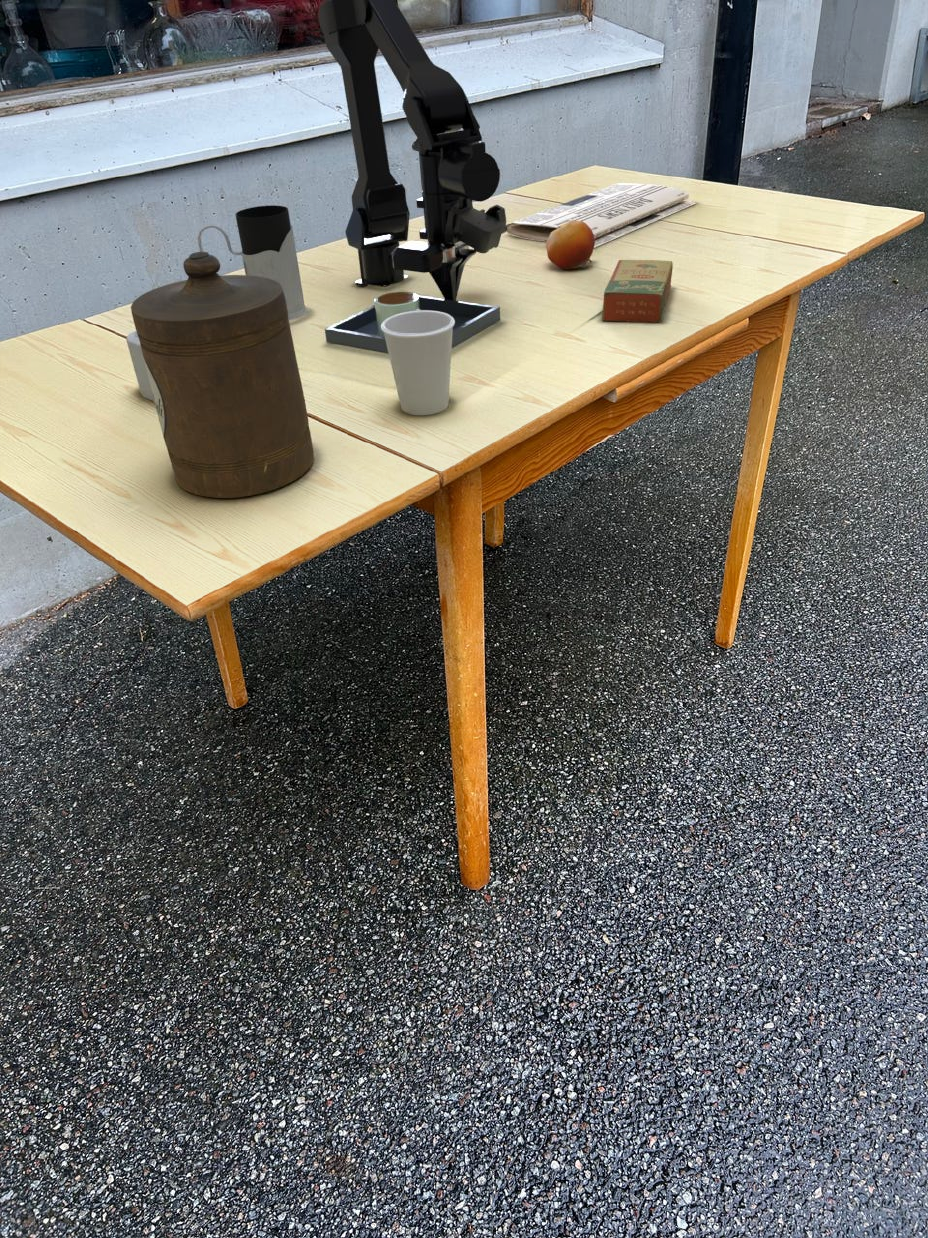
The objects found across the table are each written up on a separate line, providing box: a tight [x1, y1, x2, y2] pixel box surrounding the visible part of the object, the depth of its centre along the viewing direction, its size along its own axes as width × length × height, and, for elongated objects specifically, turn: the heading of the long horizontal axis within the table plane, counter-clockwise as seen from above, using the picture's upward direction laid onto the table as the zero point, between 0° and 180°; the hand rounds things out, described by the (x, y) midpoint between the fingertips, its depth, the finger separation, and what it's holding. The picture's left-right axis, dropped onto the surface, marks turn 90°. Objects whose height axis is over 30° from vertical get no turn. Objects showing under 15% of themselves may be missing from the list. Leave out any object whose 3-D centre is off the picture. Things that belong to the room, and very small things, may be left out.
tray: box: [324, 294, 501, 355], centre depth 130 cm, size 18×18×2 cm
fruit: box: [545, 221, 595, 271], centre depth 152 cm, size 8×8×8 cm
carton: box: [601, 259, 674, 323], centre depth 135 cm, size 8×16×4 cm, turn 165°
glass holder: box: [197, 204, 309, 322], centre depth 136 cm, size 9×14×15 cm, turn 94°
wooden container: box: [130, 251, 315, 499], centre depth 93 cm, size 15×15×22 cm
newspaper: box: [505, 182, 697, 249], centre depth 177 cm, size 37×19×3 cm, turn 140°
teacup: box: [374, 291, 420, 337], centre depth 126 cm, size 7×6×6 cm
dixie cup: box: [381, 310, 455, 416], centre depth 107 cm, size 8×8×10 cm
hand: (451, 303), depth 136 cm, fingers closed
